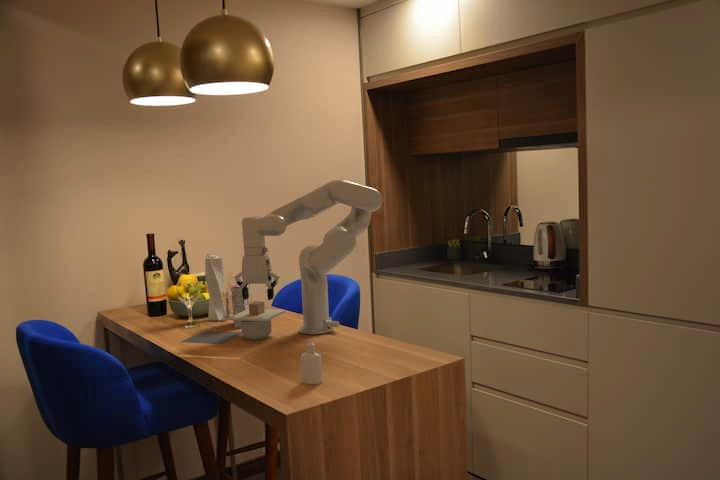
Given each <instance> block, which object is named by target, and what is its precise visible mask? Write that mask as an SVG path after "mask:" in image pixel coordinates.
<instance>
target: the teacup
mask: <svg viewBox="0 0 720 480" xmlns="http://www.w3.org/2000/svg"><path fill="white" fill-rule="evenodd" d="M240 329H241V332H242V336H243V337H244V338H245V339H247V340H250V341H256V340H257V341H259V340H265V339H267V338H268V337H269V336H270V334H271V333H272V319H271V320H269V321H241V328H240Z"/></svg>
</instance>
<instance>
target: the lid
mask: <svg viewBox="0 0 720 480" xmlns="http://www.w3.org/2000/svg"><path fill="white" fill-rule="evenodd" d="M285 313H286V310H285V309H265V301H257V300H256V301H254V302H250V304H249V309H247V310H245V311H243V312H240V313H238V314H236V315H233V314H232V315H231V317H229V318H228V320H227V321H234V320H240V321H269V320H271V321H272V320H273V319H274V318H277V317H279V316H281V315H283V314H285Z"/></svg>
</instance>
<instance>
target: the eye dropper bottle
mask: <svg viewBox="0 0 720 480" xmlns="http://www.w3.org/2000/svg"><path fill="white" fill-rule="evenodd" d="M300 373H301V374H300V375H301V382H302V383H303V384H307V385H320V384H321V383H322V382H323V365H322V356H321V354H320V353H318V352H316V345H315V343H313V341H312V339H308V343H307V344H306V345H305V352H304V353H302V354H301V356H300Z"/></svg>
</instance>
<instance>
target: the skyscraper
mask: <svg viewBox="0 0 720 480" xmlns="http://www.w3.org/2000/svg"><path fill="white" fill-rule="evenodd" d="M204 269H205V270H204V273H205V274H204V275H205V284H206V289H207V292H208V296H209V297H208V298H209V300H208V316H207V317H208V318H207V320H208V322H226V321H229V320H228V318H229V317H231V316H232V314H231V309H232V308H231V306H230V305H231V304H230V302H231V301H230V299H231V298H230V297H229V290H228V287H226V298H225V302H226V309H225V304H224V298H223V290H224V289H223V288H224V282H225V281H224V280H225V277H224V275H225V274H224V272H225V271H224V265H223V258H222V256H221V255H220V254H219V253H217V252H209V253H206V256H205V262H204ZM225 310H226V311H225Z"/></svg>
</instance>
